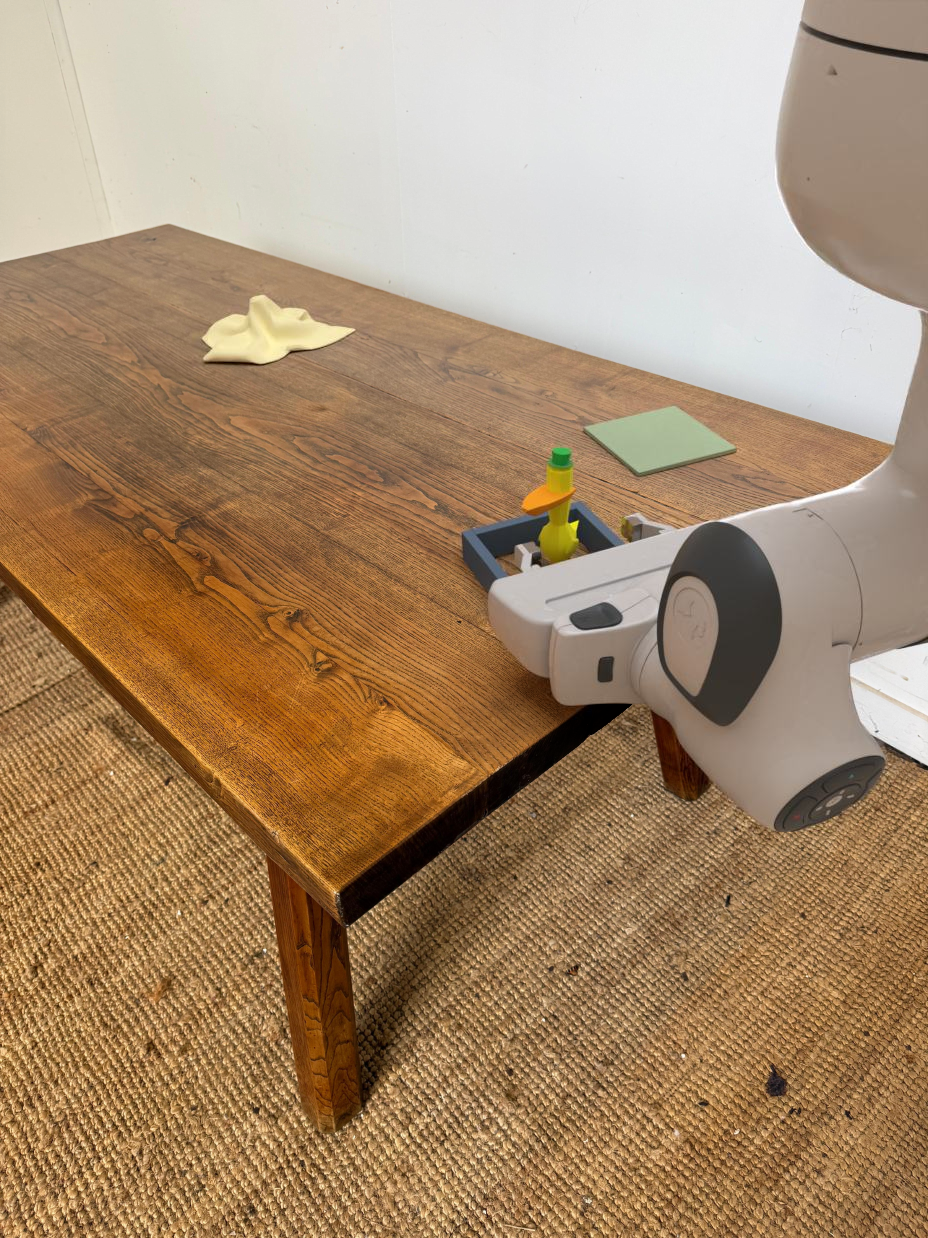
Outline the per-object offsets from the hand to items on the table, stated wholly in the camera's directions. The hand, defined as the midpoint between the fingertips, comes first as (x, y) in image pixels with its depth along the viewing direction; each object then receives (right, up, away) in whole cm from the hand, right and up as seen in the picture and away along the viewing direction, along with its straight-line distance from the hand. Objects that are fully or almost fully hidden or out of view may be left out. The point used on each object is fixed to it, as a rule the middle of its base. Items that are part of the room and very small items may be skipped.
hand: (576, 536), depth 70 cm
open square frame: (-1, -3, +8) cm, 8 cm away
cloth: (-36, +34, +58) cm, 76 cm away
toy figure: (-1, -3, +8) cm, 8 cm away
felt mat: (+12, +13, +27) cm, 32 cm away
